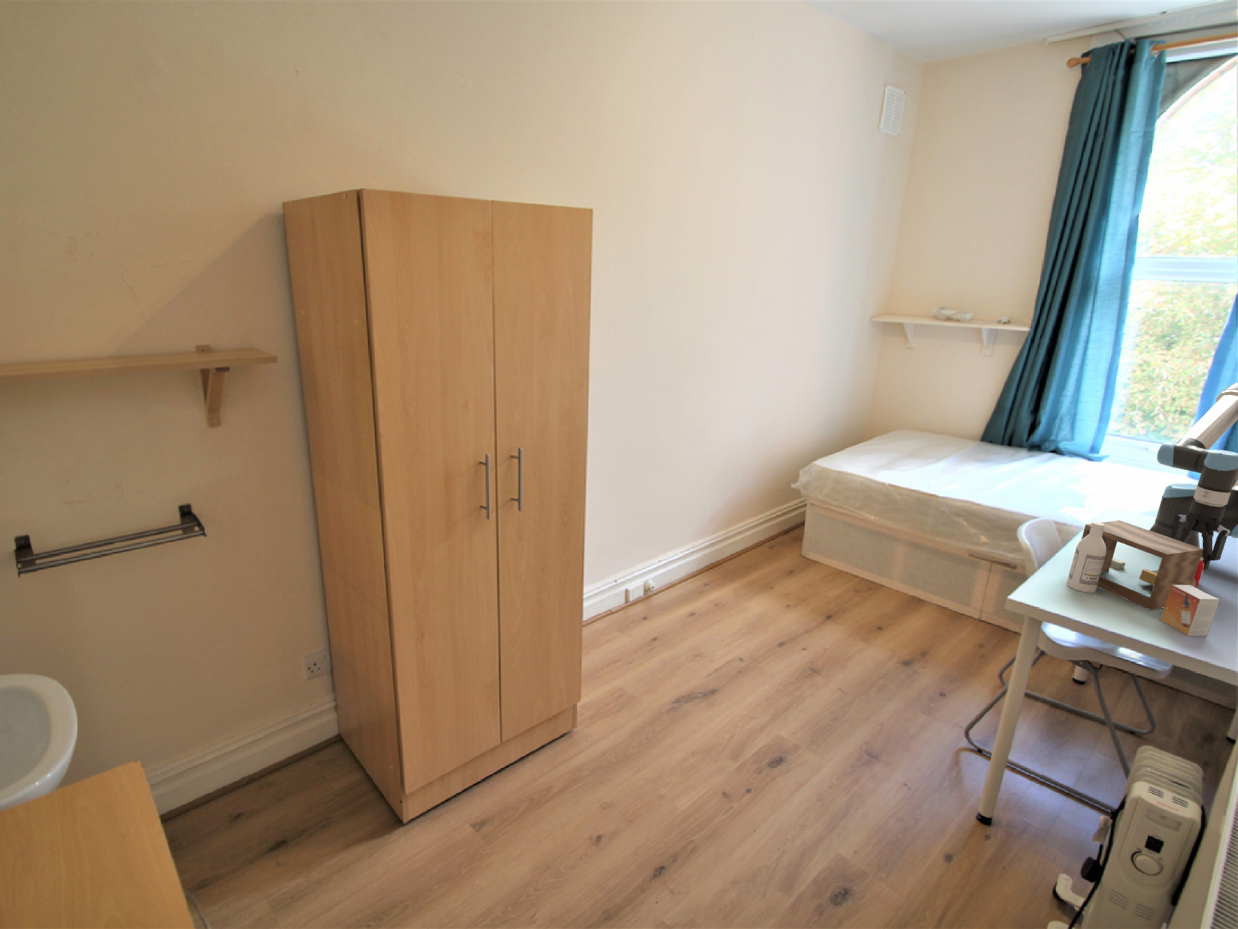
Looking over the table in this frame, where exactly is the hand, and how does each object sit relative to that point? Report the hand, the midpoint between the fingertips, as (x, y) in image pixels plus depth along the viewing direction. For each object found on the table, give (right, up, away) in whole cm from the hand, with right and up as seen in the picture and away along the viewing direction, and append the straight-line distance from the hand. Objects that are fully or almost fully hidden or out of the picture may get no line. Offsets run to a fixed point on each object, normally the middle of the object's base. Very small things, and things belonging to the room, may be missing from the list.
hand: (1185, 574), depth 196 cm
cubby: (-25, -3, -9) cm, 27 cm away
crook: (-7, -2, -5) cm, 9 cm away
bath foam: (-39, -2, -10) cm, 40 cm away
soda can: (-11, -4, -10) cm, 15 cm away
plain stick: (-18, +2, +11) cm, 21 cm away
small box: (-27, -9, -30) cm, 41 cm away
